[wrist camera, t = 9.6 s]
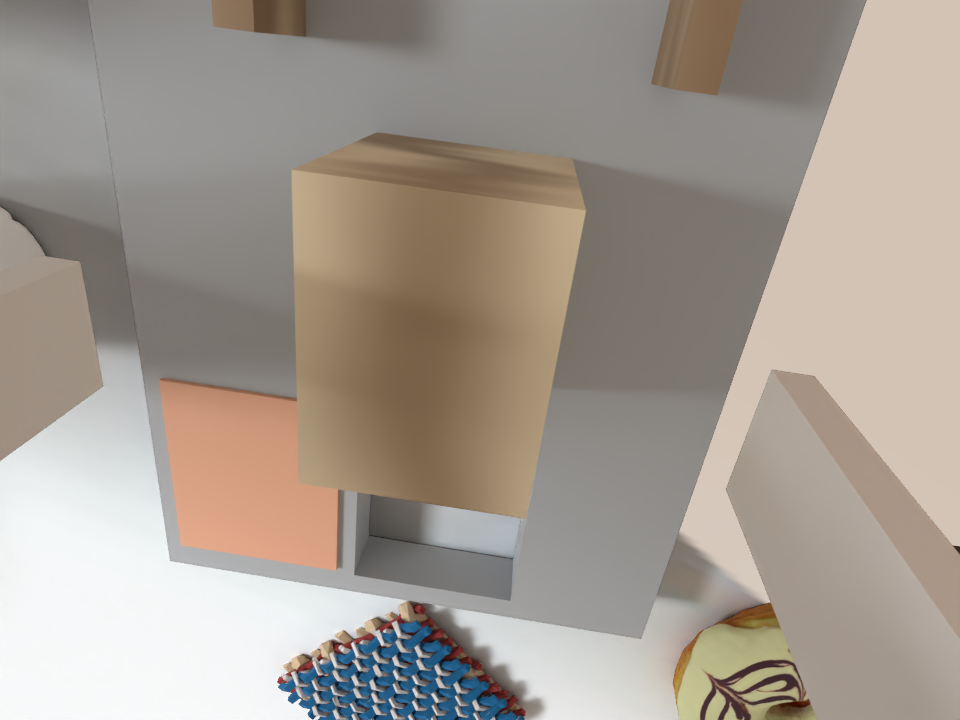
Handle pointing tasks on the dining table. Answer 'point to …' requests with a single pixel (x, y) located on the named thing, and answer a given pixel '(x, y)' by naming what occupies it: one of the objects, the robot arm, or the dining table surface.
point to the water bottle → (16, 243)
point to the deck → (594, 291)
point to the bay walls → (680, 61)
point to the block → (430, 317)
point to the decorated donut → (741, 672)
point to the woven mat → (396, 676)
